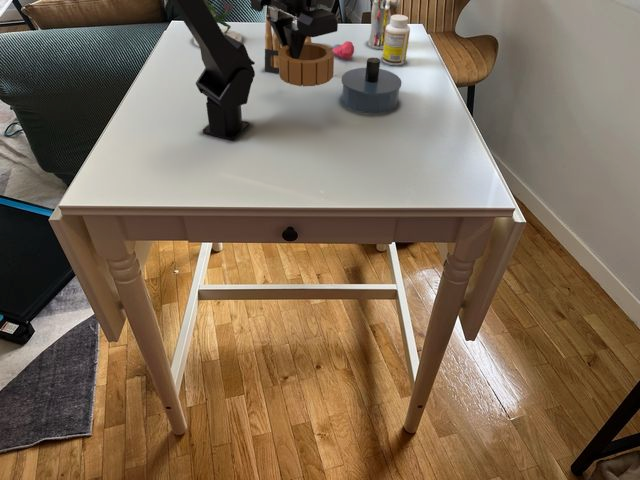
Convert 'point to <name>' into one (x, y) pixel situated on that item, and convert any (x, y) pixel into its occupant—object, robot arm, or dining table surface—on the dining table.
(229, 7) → the monster figurine
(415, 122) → the dining table surface
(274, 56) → the ammunition clip
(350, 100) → the pot
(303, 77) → the brown grooved ring
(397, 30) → the supplement bottle
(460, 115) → the dining table surface
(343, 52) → the toy pieces
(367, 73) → the pot lid
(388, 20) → the clear pen holder cup
